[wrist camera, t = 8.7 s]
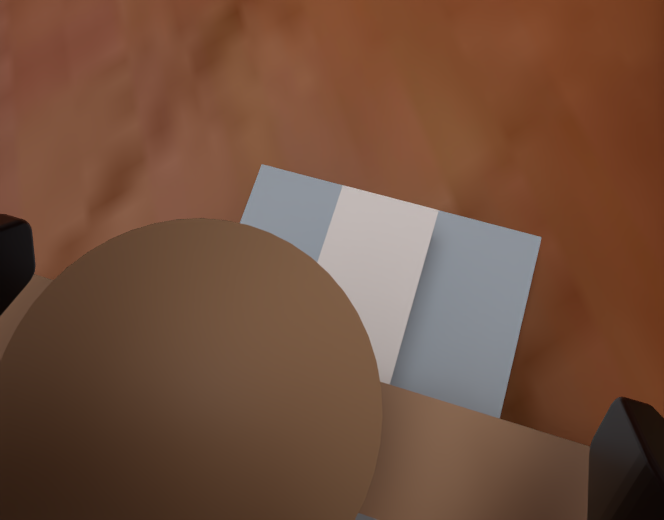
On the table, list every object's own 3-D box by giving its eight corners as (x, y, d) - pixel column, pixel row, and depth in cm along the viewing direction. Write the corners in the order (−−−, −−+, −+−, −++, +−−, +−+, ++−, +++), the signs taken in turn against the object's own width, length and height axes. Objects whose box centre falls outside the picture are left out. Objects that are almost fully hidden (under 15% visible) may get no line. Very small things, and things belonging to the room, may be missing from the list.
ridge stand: (411, 755, 17) (421, 846, 13) (104, 630, 19) (34, 680, 15) (530, 250, 21) (563, 209, 17) (269, 181, 23) (247, 130, 19)
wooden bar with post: (712, 487, 15) (1778, 651, 4) (693, 622, 14) (1989, 1384, 3) (24, 273, 18) (-588, -8, 7) (-24, 375, 17) (-810, 256, 6)
